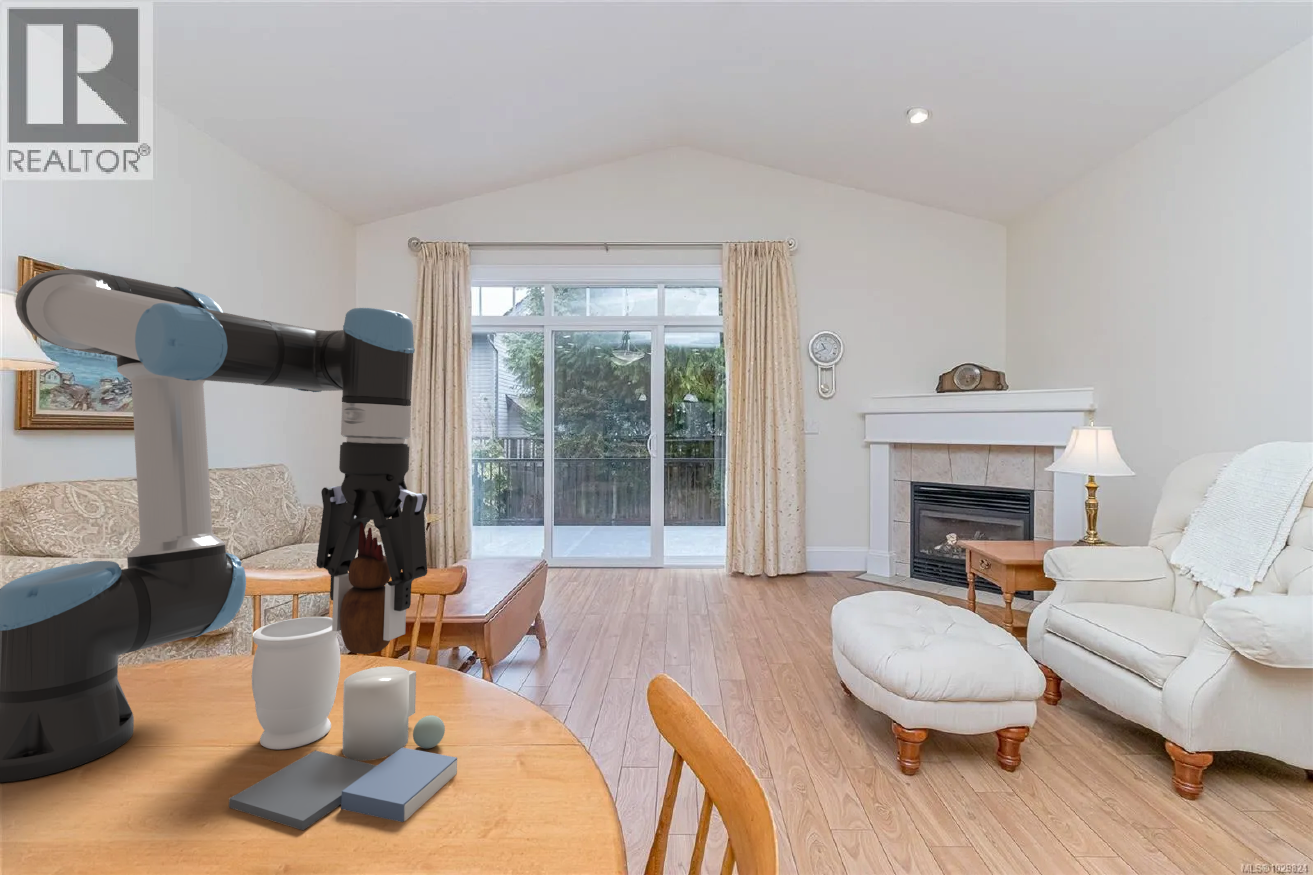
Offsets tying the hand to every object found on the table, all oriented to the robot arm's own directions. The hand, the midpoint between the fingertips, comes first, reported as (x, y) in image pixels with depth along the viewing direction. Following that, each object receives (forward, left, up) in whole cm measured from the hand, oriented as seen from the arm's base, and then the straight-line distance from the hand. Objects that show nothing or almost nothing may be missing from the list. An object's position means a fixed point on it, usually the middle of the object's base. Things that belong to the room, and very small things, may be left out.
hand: (368, 631), depth 71 cm
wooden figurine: (0, 0, -2) cm, 2 cm away
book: (+5, 0, -19) cm, 19 cm away
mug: (-6, +9, -18) cm, 21 cm away
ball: (+1, +9, -18) cm, 20 cm away
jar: (-18, +5, -18) cm, 26 cm away
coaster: (-5, -4, -18) cm, 19 cm away
